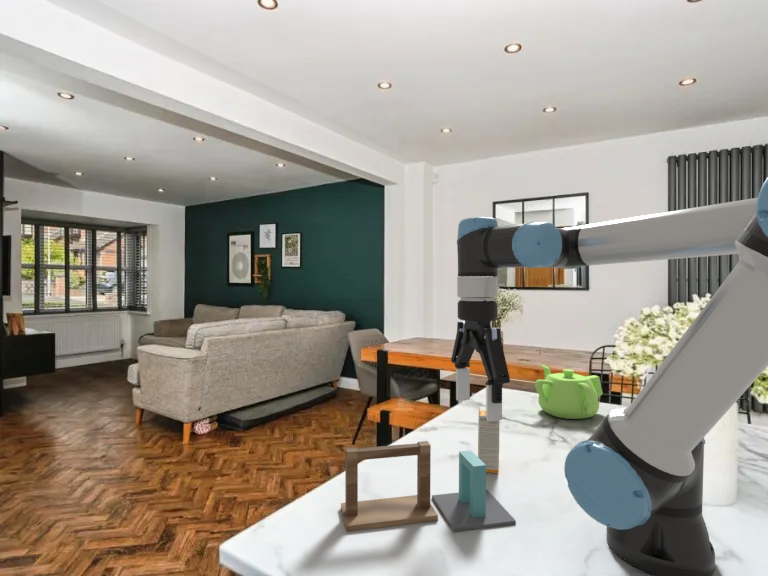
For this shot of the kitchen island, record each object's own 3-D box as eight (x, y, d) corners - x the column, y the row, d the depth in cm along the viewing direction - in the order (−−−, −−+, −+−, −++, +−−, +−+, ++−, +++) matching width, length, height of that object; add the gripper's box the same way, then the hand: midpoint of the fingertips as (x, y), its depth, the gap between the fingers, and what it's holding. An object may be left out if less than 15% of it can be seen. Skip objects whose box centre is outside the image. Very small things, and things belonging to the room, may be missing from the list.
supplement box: (499, 474, 101) (500, 417, 100) (478, 472, 102) (478, 415, 101) (497, 459, 109) (498, 406, 109) (477, 457, 110) (478, 405, 109)
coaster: (515, 523, 81) (515, 520, 81) (453, 531, 78) (453, 528, 78) (486, 492, 92) (486, 489, 92) (431, 498, 90) (431, 495, 90)
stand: (437, 520, 82) (438, 450, 81) (346, 531, 78) (346, 458, 78) (424, 499, 90) (425, 435, 89) (341, 508, 86) (340, 442, 86)
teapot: (594, 426, 132) (595, 379, 132) (527, 415, 143) (527, 371, 143) (602, 410, 148) (603, 367, 148) (541, 401, 159) (541, 361, 158)
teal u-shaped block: (485, 516, 82) (486, 465, 82) (473, 517, 82) (473, 466, 81) (470, 497, 89) (470, 450, 89) (458, 499, 88) (459, 451, 88)
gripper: (531, 302, 74) (530, 428, 74) (468, 296, 98) (468, 391, 99) (489, 303, 72) (489, 432, 73) (436, 297, 96) (436, 393, 97)
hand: (477, 409), depth 86 cm, fingers open, 13 cm apart
